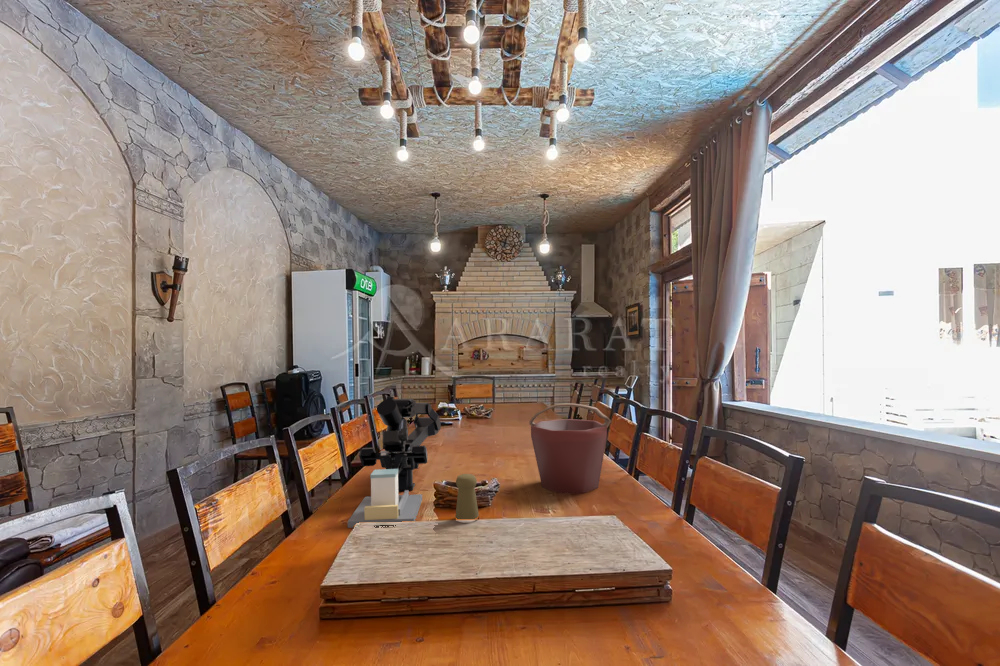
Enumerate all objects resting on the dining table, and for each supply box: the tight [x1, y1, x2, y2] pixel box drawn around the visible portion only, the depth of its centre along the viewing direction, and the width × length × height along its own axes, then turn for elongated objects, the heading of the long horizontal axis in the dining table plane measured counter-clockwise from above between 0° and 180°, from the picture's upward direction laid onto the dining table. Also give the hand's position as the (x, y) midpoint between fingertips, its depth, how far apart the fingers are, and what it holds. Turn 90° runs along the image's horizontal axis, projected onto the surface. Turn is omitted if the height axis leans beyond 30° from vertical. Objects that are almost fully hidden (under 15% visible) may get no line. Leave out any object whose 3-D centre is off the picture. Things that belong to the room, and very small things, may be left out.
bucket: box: [528, 403, 612, 494], centre depth 148 cm, size 24×22×25 cm
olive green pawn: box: [454, 473, 480, 519], centre depth 122 cm, size 6×6×11 cm
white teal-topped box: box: [369, 468, 399, 506], centre depth 124 cm, size 5×6×10 cm
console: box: [347, 490, 423, 529], centre depth 128 cm, size 20×16×4 cm
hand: (391, 482), depth 133 cm, fingers closed
